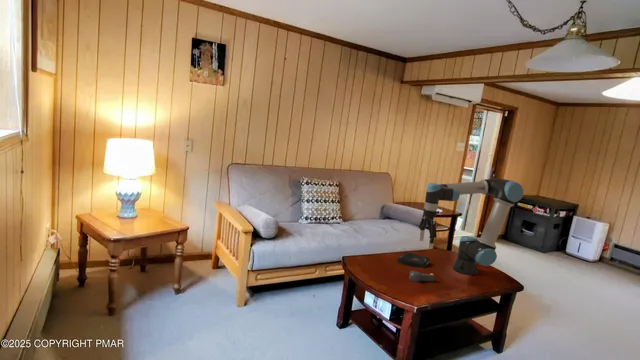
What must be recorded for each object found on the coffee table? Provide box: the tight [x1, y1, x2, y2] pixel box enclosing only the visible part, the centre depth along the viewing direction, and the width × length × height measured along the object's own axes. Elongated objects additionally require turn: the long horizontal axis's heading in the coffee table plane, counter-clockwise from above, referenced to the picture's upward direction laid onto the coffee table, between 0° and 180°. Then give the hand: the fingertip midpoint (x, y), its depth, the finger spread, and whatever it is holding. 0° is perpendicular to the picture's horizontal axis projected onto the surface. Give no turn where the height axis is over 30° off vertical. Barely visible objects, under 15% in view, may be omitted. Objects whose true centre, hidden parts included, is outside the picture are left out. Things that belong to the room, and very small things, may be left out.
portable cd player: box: [396, 251, 431, 269], centre depth 237 cm, size 16×17×4 cm
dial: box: [408, 270, 435, 283], centre depth 205 cm, size 14×6×4 cm, turn 97°
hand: (425, 244), depth 210 cm, fingers open, 13 cm apart
